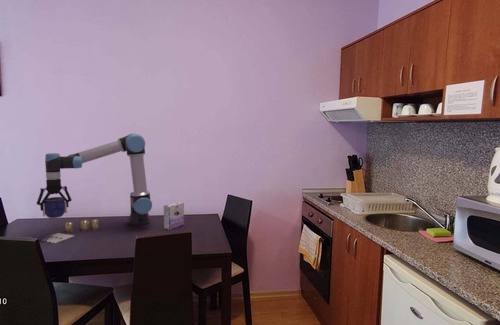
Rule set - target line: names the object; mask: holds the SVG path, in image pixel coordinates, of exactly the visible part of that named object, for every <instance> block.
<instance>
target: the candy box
mask: <svg viewBox="0 0 500 325" xmlns="http://www.w3.org/2000/svg"><path fill="white" fill-rule="evenodd" d="M183 226H185V202H181V201H177V202H173V203H170V204H163V228H164V229H165V230H168V231H171V230H174V229H177V228H180V227H183Z"/></svg>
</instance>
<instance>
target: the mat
mask: <svg viewBox="0 0 500 325" xmlns="http://www.w3.org/2000/svg"><path fill="white" fill-rule="evenodd" d="M51 235H52V237H50V238H49V239H48V240H47V242H46V243H49V242H51V243H50V244H58V243H60V242H62V241H65V240H69V239H70V238H74V237H75V235H73V234H68V233H60V232H57V233H54V234H51Z"/></svg>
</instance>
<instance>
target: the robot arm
mask: <svg viewBox="0 0 500 325" xmlns="http://www.w3.org/2000/svg"><path fill="white" fill-rule="evenodd" d="M145 148H146V140H145V139H144V137H143V136H142V135H140V134H138V133H129V134H127V135H126V136H123V137H121V138H118V139H117V140H116V141H112V142H109V143H105V144H101V145H99V146H96V147H92V148H89V149H85V150H82V151H79V152H77V153H73V154H69V155H67V156H61V154H60V153H55V152H54V153H53V152H52V153H50V152H49V153H46V154H45V160H44V162H45V165H44V166H45V178H46V187H44V188H43V187H41V188H40V192H39V195H38V198H37V200H36V205H38V206H40V211H41V212H42V216H43V217H46V215H45V205H44V203H45V200H47V198H50V196H51V195H57V194H58V195H59V197H62V198H65V213H64V214H67V213H68V208H69V203H70V202H72V197H71V196H70V193H69V191H68V186H66V185H64V186H62V179H61V178H62V176H61V170H63V169H75V170H76V169H81V168H82V167H83V164H85V163H88V162H91V161H95V160H97V159H101V158H105V157H107V156H111V155H114V154H116V153H120V152H122V153H125V152H126V156H127V157H129V163H130V170H131V178H132V188H133V191H132V192H129V193H130V194H129V198H130V200H129V201H130V202H129V203H130V214H129V218H128V220H127V222H128V225H130V226H135V227H137V226H145V225H148V224H150V223H151V217H150V214H149V213H150V211H151V210H152V207H153V202H152V200H151V195H150V194H151V193H150V191H148V186H147V178H146V169H145V160H144V156H145V154H146V149H145ZM62 189H63V191H64V193H65V195H66V197H67V198H66V197H65V195H64V194H63V193H62V192H61V190H62ZM45 191H47V192H46V194H45V195H44V193H45ZM43 196H44V197H43Z"/></svg>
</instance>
